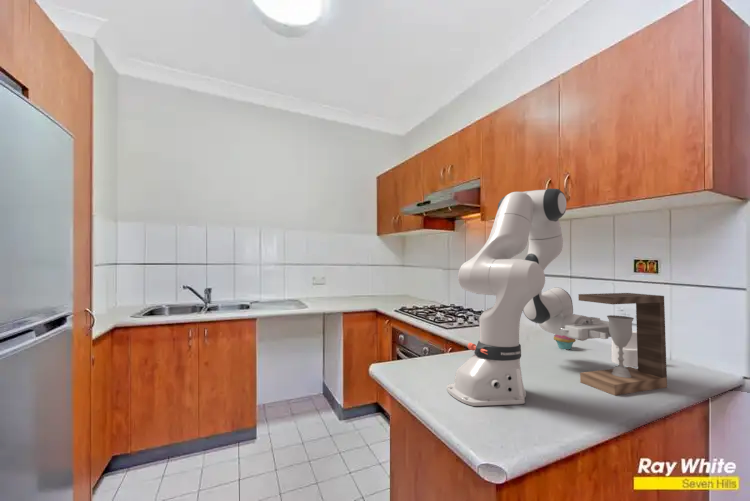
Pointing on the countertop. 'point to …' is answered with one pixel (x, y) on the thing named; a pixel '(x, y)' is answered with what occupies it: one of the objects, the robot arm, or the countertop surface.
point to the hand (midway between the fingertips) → (617, 335)
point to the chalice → (620, 340)
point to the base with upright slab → (626, 352)
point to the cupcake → (564, 341)
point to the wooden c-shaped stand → (648, 346)
